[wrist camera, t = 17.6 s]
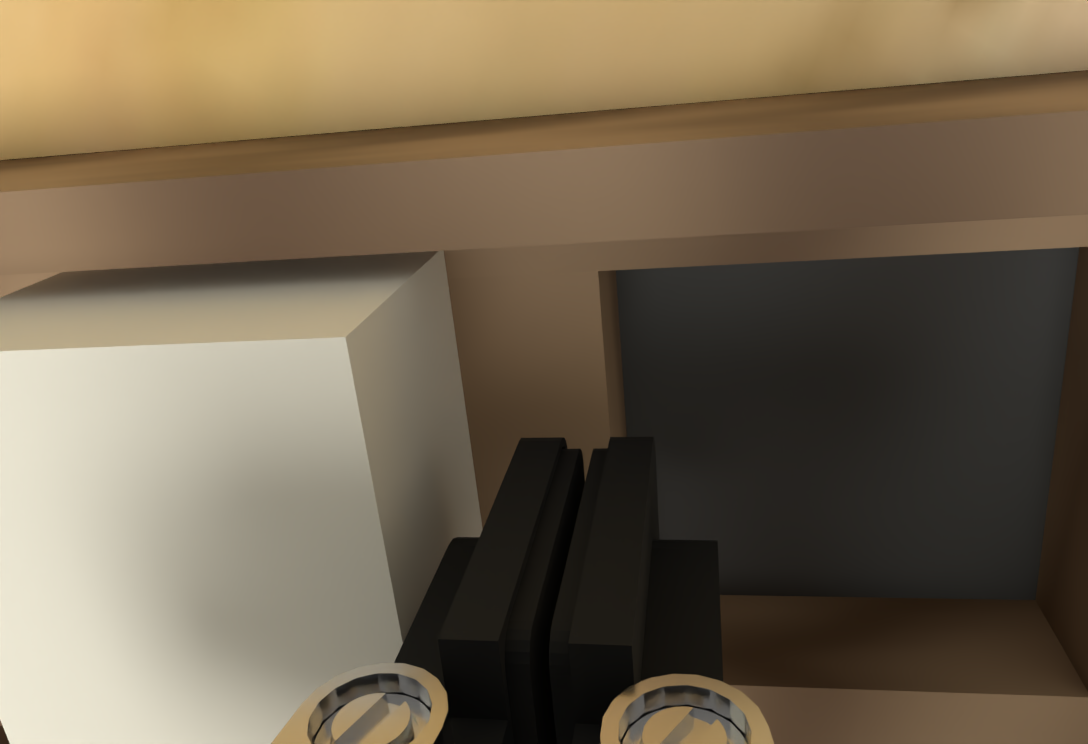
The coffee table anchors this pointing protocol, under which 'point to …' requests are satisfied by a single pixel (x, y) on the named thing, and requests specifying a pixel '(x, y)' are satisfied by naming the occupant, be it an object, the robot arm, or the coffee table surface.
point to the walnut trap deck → (733, 353)
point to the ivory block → (220, 489)
